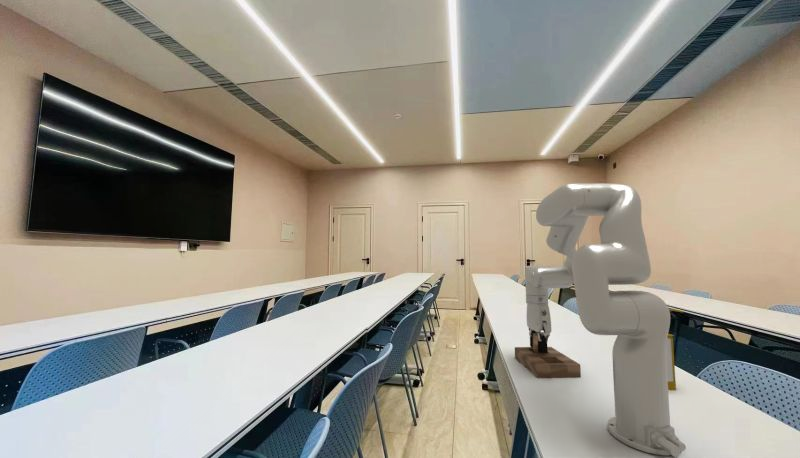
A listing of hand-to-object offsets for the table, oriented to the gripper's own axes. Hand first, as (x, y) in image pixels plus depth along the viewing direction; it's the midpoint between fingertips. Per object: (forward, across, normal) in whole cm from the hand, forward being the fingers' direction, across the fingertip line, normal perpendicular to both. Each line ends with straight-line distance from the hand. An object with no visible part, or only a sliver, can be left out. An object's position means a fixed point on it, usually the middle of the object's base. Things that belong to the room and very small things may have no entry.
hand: (538, 349), depth 111 cm
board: (+5, -4, 0) cm, 6 cm away
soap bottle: (+5, -19, -29) cm, 35 cm away
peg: (+5, 0, 0) cm, 5 cm away
